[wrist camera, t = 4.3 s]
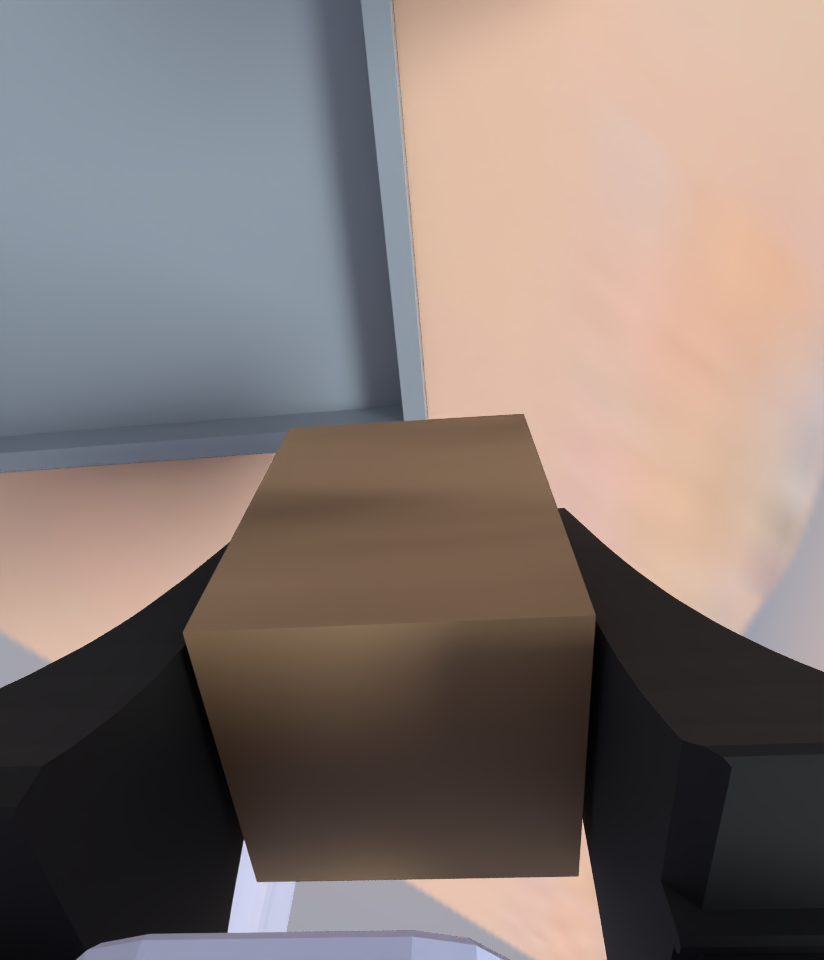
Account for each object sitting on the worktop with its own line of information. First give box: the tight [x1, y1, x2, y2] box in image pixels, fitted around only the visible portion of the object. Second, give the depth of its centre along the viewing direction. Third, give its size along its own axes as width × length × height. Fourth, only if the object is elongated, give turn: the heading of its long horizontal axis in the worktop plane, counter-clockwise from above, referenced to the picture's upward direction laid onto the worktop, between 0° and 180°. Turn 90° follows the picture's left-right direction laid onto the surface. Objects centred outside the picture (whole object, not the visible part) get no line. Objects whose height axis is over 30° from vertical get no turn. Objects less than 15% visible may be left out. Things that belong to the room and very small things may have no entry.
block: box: [183, 414, 596, 882], centre depth 11 cm, size 4×4×6 cm
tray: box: [0, 0, 428, 473], centre depth 16 cm, size 16×16×2 cm
